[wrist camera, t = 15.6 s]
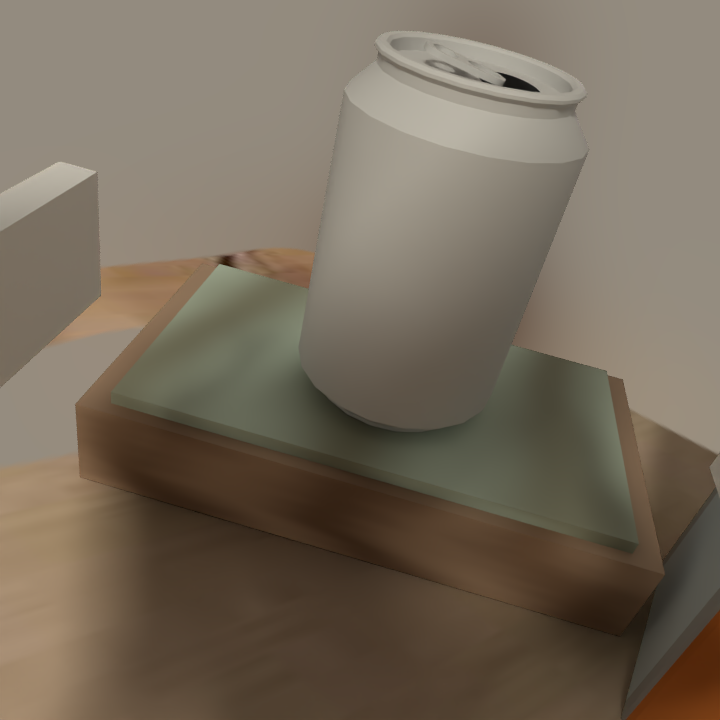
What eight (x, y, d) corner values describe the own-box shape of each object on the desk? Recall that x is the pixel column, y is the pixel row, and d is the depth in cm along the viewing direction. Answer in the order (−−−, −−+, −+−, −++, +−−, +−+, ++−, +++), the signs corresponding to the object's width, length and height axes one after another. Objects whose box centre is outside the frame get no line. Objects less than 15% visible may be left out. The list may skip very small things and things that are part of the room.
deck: (592, 435, 33) (627, 370, 30) (619, 636, 24) (672, 565, 21) (197, 325, 34) (202, 253, 31) (80, 476, 25) (74, 392, 22)
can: (500, 461, 24) (653, 118, 17) (288, 432, 23) (357, 56, 16) (469, 340, 30) (572, 52, 23) (300, 313, 29) (354, 4, 22)
